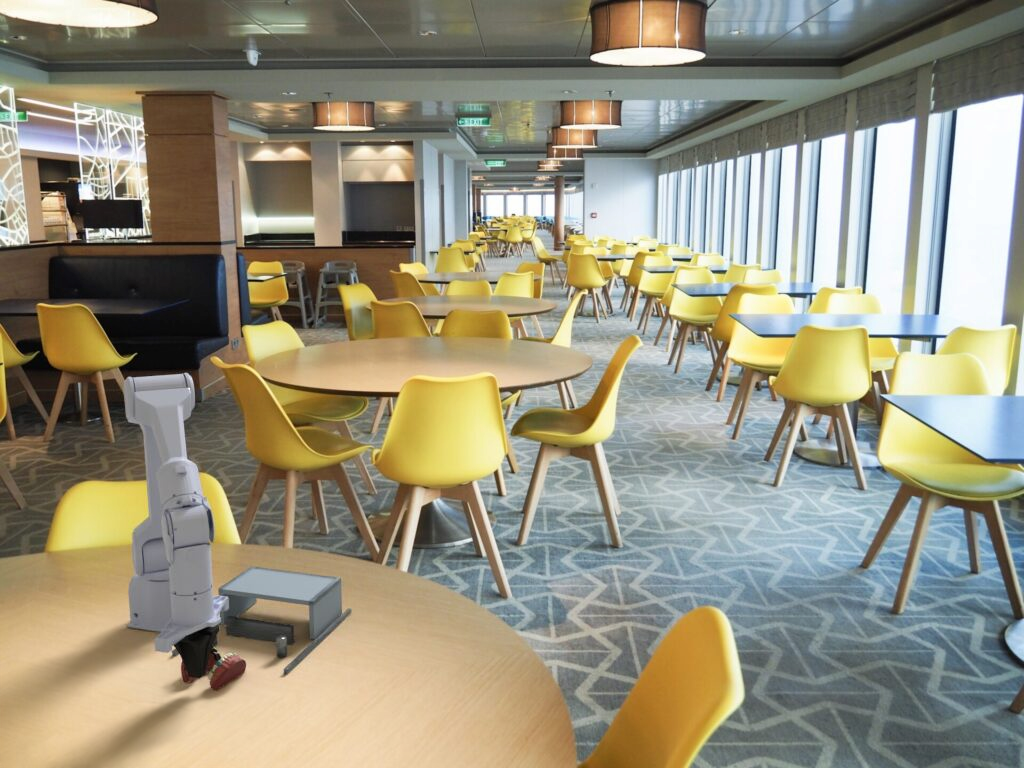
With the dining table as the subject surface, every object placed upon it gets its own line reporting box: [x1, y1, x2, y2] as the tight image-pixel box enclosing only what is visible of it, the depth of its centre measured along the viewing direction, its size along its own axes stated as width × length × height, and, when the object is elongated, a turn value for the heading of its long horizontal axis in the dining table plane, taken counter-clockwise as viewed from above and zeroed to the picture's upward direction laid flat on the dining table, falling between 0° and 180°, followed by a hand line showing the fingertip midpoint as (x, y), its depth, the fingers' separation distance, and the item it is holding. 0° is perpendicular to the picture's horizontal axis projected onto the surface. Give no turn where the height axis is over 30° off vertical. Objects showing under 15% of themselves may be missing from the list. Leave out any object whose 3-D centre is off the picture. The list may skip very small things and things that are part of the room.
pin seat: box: [171, 607, 352, 675], centre depth 145 cm, size 20×22×3 cm
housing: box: [218, 566, 343, 640], centre depth 149 cm, size 18×10×7 cm, turn 75°
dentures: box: [180, 645, 247, 692], centre depth 131 cm, size 6×5×9 cm
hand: (196, 675), depth 127 cm, fingers closed
